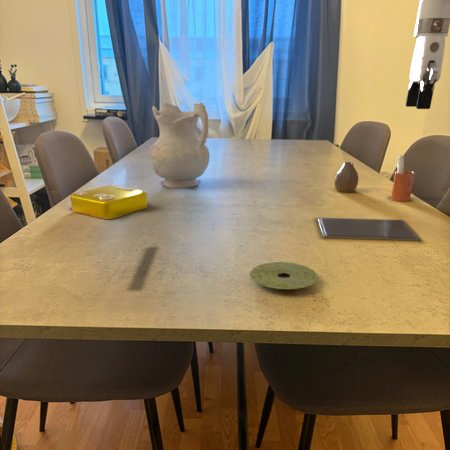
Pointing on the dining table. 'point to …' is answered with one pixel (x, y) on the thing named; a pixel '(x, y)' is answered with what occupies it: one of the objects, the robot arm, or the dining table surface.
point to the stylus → (401, 164)
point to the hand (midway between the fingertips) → (417, 107)
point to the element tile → (109, 201)
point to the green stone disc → (283, 275)
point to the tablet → (366, 229)
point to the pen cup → (402, 186)
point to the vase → (346, 178)
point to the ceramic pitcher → (180, 146)
